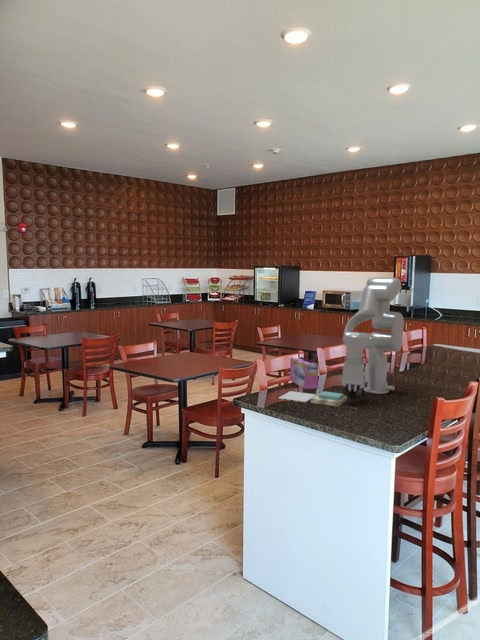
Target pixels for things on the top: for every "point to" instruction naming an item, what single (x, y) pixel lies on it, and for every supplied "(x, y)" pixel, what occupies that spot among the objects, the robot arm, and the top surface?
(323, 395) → the teal card
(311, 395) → the grey mat
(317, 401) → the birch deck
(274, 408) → the top surface
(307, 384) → the pink purple printed box
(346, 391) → the dark brown cylinder
